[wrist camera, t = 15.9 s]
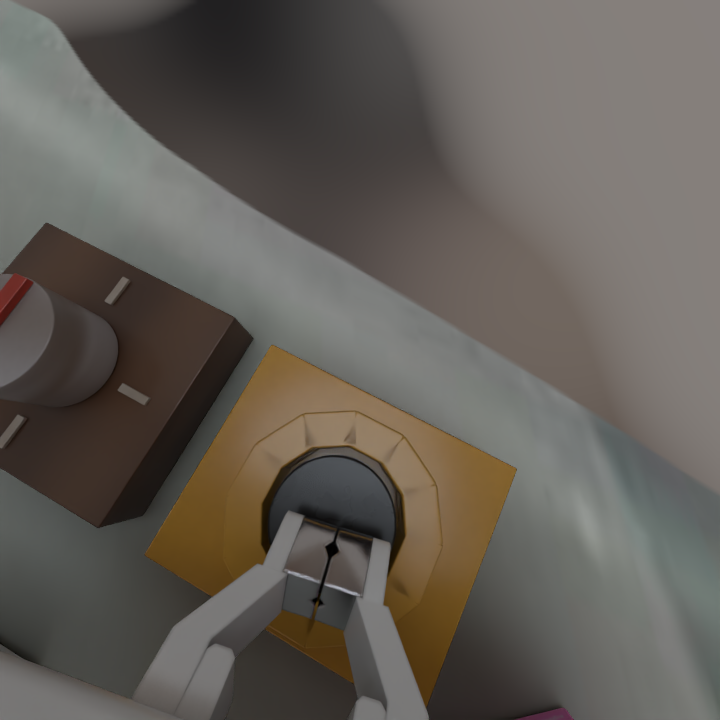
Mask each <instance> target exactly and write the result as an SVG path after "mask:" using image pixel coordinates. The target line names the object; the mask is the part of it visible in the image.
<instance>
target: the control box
mask: <svg viewBox="0 0 720 720" xmlns="http://www.w3.org/2000/svg"><path fill="white" fill-rule="evenodd" d="M327 455H342V456H348V457H352V458H355V459H357V460H359V461H361V462H363V463H365V464H366V465H368V466H369V467H370V468H371V469H373V470H374V471H375V472H376V473H377V475H378V476H379V477H380V478H381V479H382V480H383V482H384V483H385V485H386V486H387V488H388V490H389V492H390V494H391V497H392V499H393V503H394V507H395V512H396V536H395V540H394V545H393V548H392V550H391V553H390V558H389V566H388V573H387V581H386V588H385V596H384V603H383V605H385V606H387V607H389V610H390V612H391V615H392V618H393V620H394V623H395V626H396V629H397V631H398V634H399V637H400V640H401V642H402V645H403V648H404V650H405V653H406V656H407V659H408V661H409V664H410V667H411V669H412V672H413V675H414V678H415V680H416V683H417V686H418V688H419V691H420V694H421V697H422V699H423V702H424V705H425V707H426V708H427V705H428V702H429V700H430V697H431V694H432V692H433V689H434V687H435V684H436V681H437V679H438V676H439V673H440V671H441V668H442V665H443V663H444V660H445V658H446V655H447V652H448V650H449V647H450V644H451V642H452V639H453V637H454V634H455V631H456V629H457V626H458V623H459V621H460V618H461V615H462V613H463V610H464V608H465V605H466V602H467V600H468V597H469V594H470V592H471V589H472V586H473V584H474V581H475V579H476V576H477V573H478V571H479V568H480V565H481V563H482V560H483V558H484V555H485V552H486V550H487V547H488V544H489V542H490V539H491V536H492V534H493V531H494V529H495V526H496V523H497V521H498V518H499V515H500V513H501V510H502V507H503V505H504V502H505V500H506V497H507V494H508V492H509V489H510V486H511V484H512V481H513V479H514V476H515V473H516V471H517V469H516V468H515V467H513V466H511V465H509V464H507V463H505V462H503V461H501V460H499V459H497V458H495V457H493V456H491V455H489V454H487V453H485V452H483V451H481V450H479V449H477V448H475V447H473V446H471V445H469V444H467V443H465V442H463V441H461V440H459V439H457V438H456V437H454V436H452V435H450V434H448V433H446V432H444V431H442V430H440V429H438V428H436V427H434V426H432V425H430V424H428V423H426V422H424V421H422V420H420V419H418V418H416V417H414V416H412V415H410V414H408V413H406V412H404V411H402V410H400V409H398V408H396V407H394V406H392V405H390V404H389V403H387V402H385V401H383V400H381V399H379V398H377V397H375V396H373V395H371V394H369V393H367V392H365V391H363V390H361V389H359V388H357V387H355V386H353V385H351V384H349V383H347V382H345V381H343V380H341V379H339V378H337V377H335V376H333V375H331V374H329V373H327V372H325V371H324V370H322V369H320V368H318V367H316V366H314V365H312V364H310V363H308V362H306V361H304V360H302V359H300V358H298V357H296V356H294V355H292V354H290V353H288V352H286V351H284V350H282V349H280V348H278V347H276V346H274V345H271V347H270V348H269V350H268V351H267V353H266V355H265V356H264V358H263V360H262V361H261V363H260V365H259V366H258V368H257V370H256V371H255V373H254V375H253V376H252V378H251V379H250V381H249V383H248V384H247V386H246V388H245V389H244V391H243V393H242V394H241V396H240V398H239V399H238V401H237V403H236V404H235V406H234V407H233V409H232V411H231V412H230V414H229V416H228V417H227V419H226V421H225V422H224V424H223V426H222V427H221V429H220V431H219V432H218V434H217V436H216V437H215V439H214V440H213V442H212V444H211V445H210V447H209V449H208V450H207V452H206V454H205V455H204V457H203V459H202V460H201V462H200V464H199V465H198V467H197V468H196V470H195V472H194V473H193V475H192V477H191V478H190V480H189V482H188V483H187V485H186V487H185V488H184V490H183V492H182V493H181V495H180V496H179V498H178V500H177V501H176V503H175V505H174V506H173V508H172V510H171V511H170V513H169V515H168V516H167V518H166V520H165V521H164V523H163V524H162V526H161V528H160V529H159V531H158V533H157V534H156V536H155V538H154V539H153V541H152V543H151V544H150V546H149V548H148V549H147V551H146V552H145V556H146V557H148V558H150V559H151V560H153V561H154V562H156V563H158V564H159V565H161V566H163V567H164V568H166V569H167V570H169V571H171V572H172V573H174V574H176V575H177V576H179V577H180V578H182V579H184V580H185V581H187V582H189V583H190V584H192V585H193V586H195V587H197V588H198V589H200V590H202V591H203V592H205V593H206V594H208V595H210V596H211V597H213V596H214V595H216V594H217V593H218V592H220V591H221V590H223V589H224V588H225V587H227V586H228V585H229V584H231V583H232V582H233V581H235V580H236V579H237V578H239V577H240V576H241V575H243V574H244V573H245V572H247V571H248V570H249V569H251V568H252V567H253V566H255V565H256V564H261V565H263V563H264V560H265V558H266V556H267V554H268V552H269V549H270V544H269V538H268V515H269V510H270V506H271V503H272V500H273V497H274V495H275V493H276V491H277V489H278V488H279V486H280V484H281V483H282V482H283V480H284V479H285V478H286V477H287V476H288V475H289V474H290V473H291V472H292V471H293V470H294V469H295V468H297V467H298V466H299V465H301V464H303V463H305V462H306V461H309V460H311V459H314V458H317V457H321V456H327ZM320 596H321V594H319V595H318V598H317V602H316V605H315V609H314V612H313V615H312V619H310V618H307V617H304V616H300V615H297V614H294V613H290V612H287V611H284V610H281V613H280V614H279V615H278V616H277V617H276V618H275V619H274V620H273V621H272V622H271V623H270V624H269V625H268V626H267V627H266V628H265V630H267V631H268V632H270V633H271V634H273V635H275V636H276V637H278V638H280V639H281V640H283V641H284V642H286V643H288V644H289V645H291V646H293V647H294V648H296V649H297V650H299V651H301V652H302V653H304V654H306V655H307V656H309V657H310V658H312V659H314V660H315V661H317V662H319V663H320V664H322V665H323V666H325V667H327V668H328V669H330V670H332V671H333V672H335V673H336V674H338V675H340V676H341V677H343V678H345V679H346V680H348V681H349V682H351V683H353V684H354V680H353V675H352V670H351V666H350V661H349V657H348V652H347V647H346V643H345V638H344V634H343V632H344V631H343V630H340V629H337V628H335V627H332V626H329V625H327V624H324V623H321V622H319V621H316V620H314V619H315V615H316V611H317V607H318V603H319V600H320ZM354 685H355V684H354Z"/></svg>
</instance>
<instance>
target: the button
mask: <svg viewBox="0 0 720 720" xmlns="http://www.w3.org/2000/svg"><path fill="white" fill-rule="evenodd" d="M288 510H289V511H292V512H295V513H298V514H302V515H305V516H307V517H310V518H313V519H316V520H319V521H322V522H325V523H328V524H331V525H334V526H338V527H337V531H336V535H335V538H334V542H333V546H332V549H331V553H330V557H329V560H328V564H327V567H326V571H325V574H324V577H323V581H322V584H321V588H320V592H319V594H321V592H322V589H323V585H324V582H325V578H326V574H327V571H328V567H329V564H330V560H331V557H332V553H333V550H334V546H335V543H336V539H337V536H338V532H339V529H340V527H342V528H346V529H349V530H352V531H356V532H359V533H362V534H366V535H369V536H373V537H374V538H377V539H381V540H384V541H387V542H390V545H391V550H392V548H393V545H394V540H395V536H396V512H395V507H394V503H393V499H392V497H391V494H390V492H389V490H388V488H387V486H386V485H385V483H384V482H383V480H382V479H381V478H380V477H379V476H378V475H377V473H376V472H375V471H374V470H373V469H371V468H370V467H369V466H368V465H366V464H365V463H363V462H361V461H359V460H357V459H355V458H352V457H348V456H342V455H327V456H321V457H317V458H314V459H311V460H309V461H306V462H305V463H303V464H301V465H299V466H298V467H297V468H295V469H294V470H293V471H292V472H291V473H290V474H289V475H288V476H287V477H286V478H285V479H284V480H283V482H282V483H281V484H280V486H279V488H278V489H277V491H276V493H275V495H274V497H273V500H272V503H271V506H270V510H269V515H268V538H269V544H270V547H271V545H272V543H273V541H274V538H275V536H276V534H277V532H278V530H279V527H280V525H281V523H282V521H283V519H284V516H285V515H286V513H287V512H288ZM391 550H390V553H391Z"/></svg>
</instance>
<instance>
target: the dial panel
mask: <svg viewBox="0 0 720 720" xmlns="http://www.w3.org/2000/svg"><path fill="white" fill-rule="evenodd" d="M14 273H17V274H19V275H21V276H24V277H26V278H29V279H31V280H33V281H35V282H37V283H38V284H40V285H42V286H44V287H46V288H48V289H50V290H51V291H53V292H55V293H57V294H59V295H61V296H63V297H64V298H66V299H68V300H70V301H72V302H74V303H76V304H77V305H79V306H81V307H83V308H85V309H87V310H89V311H90V312H92V313H94V314H96V315H98V316H100V317H101V318H103V319H104V320H105V321H106V322H107V323H108V324H109V325H110V326H111V327H112V329H113V331H114V333H115V335H116V338H117V342H118V357H117V361H116V365H115V367H114V370H113V372H112V374H111V375H110V377H109V379H108V380H107V381H106V383H105V384H104V385H103V386H102V387H101V388H100V389H99V390H98V391H97V392H96V393H94V394H93V395H92V396H90V397H89V398H87V399H85V400H83V401H81V402H79V403H76V404H73V405H69V406H64V407H47V406H41V405H35V404H28V403H22V402H16V401H10V400H3V399H0V468H1V469H3V470H4V471H6V472H8V473H9V474H11V475H13V476H14V477H16V478H17V479H19V480H21V481H22V482H24V483H25V484H27V485H29V486H30V487H32V488H34V489H35V490H37V491H38V492H40V493H42V494H43V495H45V496H47V497H48V498H50V499H51V500H53V501H55V502H56V503H58V504H60V505H61V506H63V507H64V508H66V509H68V510H69V511H71V512H73V513H74V514H76V515H77V516H79V517H81V518H82V519H84V520H86V521H87V522H89V523H90V524H92V525H94V526H95V527H97V528H101V527H104V526H108V525H112V524H115V523H119V522H122V521H126V520H129V519H133V518H137V517H140V516H143V514H144V512H145V511H146V509H147V508H148V506H149V504H150V503H151V501H152V500H153V498H154V496H155V495H156V493H157V492H158V490H159V488H160V487H161V485H162V484H163V482H164V480H165V479H166V477H167V476H168V474H169V472H170V471H171V469H172V468H173V466H174V464H175V463H176V461H177V460H178V458H179V456H180V455H181V453H182V452H183V450H184V448H185V447H186V445H187V444H188V442H189V440H190V439H191V437H192V436H193V434H194V432H195V431H196V429H197V428H198V426H199V424H200V423H201V421H202V420H203V418H204V416H205V415H206V413H207V412H208V410H209V408H210V407H211V405H212V404H213V402H214V400H215V399H216V397H217V396H218V394H219V392H220V391H221V389H222V387H223V386H224V384H225V383H226V381H227V379H228V378H229V376H230V375H231V373H232V371H233V370H234V368H235V367H236V365H237V363H238V362H239V360H240V359H241V357H242V355H243V354H244V352H245V351H246V349H247V347H248V346H249V344H250V343H251V341H252V339H253V337H252V336H251V335H250V334H249V333H248V332H247V331H246V330H245V328H244V327H243V326H242V325H241V324H240V323H239V322H238V321H237V319H236V318H235V317H233V316H231V315H229V314H227V313H225V312H223V311H221V310H219V309H217V308H215V307H213V306H211V305H209V304H207V303H205V302H203V301H201V300H199V299H197V298H195V297H193V296H191V295H189V294H187V293H185V292H183V291H181V290H180V289H178V288H176V287H174V286H172V285H170V284H168V283H166V282H164V281H162V280H160V279H158V278H156V277H154V276H152V275H150V274H148V273H146V272H144V271H142V270H140V269H138V268H136V267H134V266H132V265H130V264H128V263H126V262H124V261H122V260H120V259H118V258H116V257H114V256H112V255H110V254H108V253H106V252H104V251H102V250H100V249H98V248H96V247H94V246H92V245H90V244H88V243H86V242H84V241H82V240H80V239H78V238H76V237H74V236H72V235H70V234H68V233H67V232H65V231H63V230H61V229H59V228H57V227H55V226H53V225H51V224H49V223H45V224H44V226H43V227H42V228H41V229H40V230H39V231H38V233H37V234H36V235H35V236H34V237H33V238H32V239H31V241H30V242H29V243H28V244H27V245H26V246H25V248H24V249H23V250H22V251H21V252H20V253H19V255H18V256H17V257H16V258H15V259H14V260H13V261H12V263H11V264H10V265H9V266H8V267H7V268H6V270H5V271H4V272H3V273H2V274H14Z"/></svg>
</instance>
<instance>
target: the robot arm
mask: <svg viewBox="0 0 720 720" xmlns="http://www.w3.org/2000/svg"><path fill="white" fill-rule="evenodd" d="M337 527H338V526H334V525H331V524H328V523H325V522H322V521H319V520H316V519H313V518H310V517H307V516H305V515H302V514H298V513H295V512H292V511H289V510H288V512H287V513H286V515H285V516H284V519H283V521H282V523H281V525H280V527H279V530H278V532H277V534H276V536H275V538H274V541H273V543H272V545H271V547H270V549H269V552H268V554H267V556H266V558H265V560H264V563H263V565H261V564H256V565H255V566H253V567H252V568H251V569H249V570H248V571H247V572H245V573H244V574H243V575H241V576H240V577H239V578H237V579H236V580H235V581H233V582H232V583H231V584H229V585H228V586H227V587H225V588H224V589H223V590H221V591H220V592H218V593H217V594H216V595H214V596H213V597H212V598H210V599H209V600H208V601H206V602H205V603H204V604H202V605H201V606H200V607H198V608H197V609H196V610H194V611H193V612H192V613H190V614H189V615H188V616H186V617H185V618H184V619H182V620H181V621H180V622H178V623H177V624H175V625H174V626H173V628H172V629H171V631H170V633H169V634H168V636H167V638H166V640H165V641H164V643H163V645H162V646H161V648H160V650H159V651H158V653H157V655H156V656H155V658H154V660H153V661H152V663H151V665H150V667H149V668H148V670H147V672H146V673H145V675H144V677H143V678H142V680H141V682H140V683H139V685H138V687H137V689H136V690H135V692H134V694H133V695H132V697H131V699H129V698H126V697H124V696H121V695H118V694H116V693H113V692H110V691H107V690H105V689H102V688H99V687H97V686H94V685H91V684H89V683H86V682H83V681H81V680H78V679H75V678H73V677H70V676H67V675H65V674H62V673H59V672H57V671H54V670H51V669H49V668H46V667H43V666H41V665H38V664H35V663H33V662H30V661H27V660H25V659H22V658H19V657H17V656H14V655H11V654H9V653H6V652H3V651H1V650H0V720H225V718H226V716H227V713H228V710H229V708H230V705H231V702H232V700H233V689H234V669H235V657H236V656H237V655H238V654H239V653H240V652H241V651H242V650H243V649H244V648H245V647H247V646H248V645H249V644H250V643H251V642H252V641H253V640H254V639H255V638H256V637H257V636H258V635H259V634H260V633H261V632H262V631H263V630H264V629H265V628H266V627H267V626H268V625H269V624H270V623H271V622H272V621H273V620H274V619H275V618H276V617H277V616H278V615H279V614H280V613H281V610H284V611H287V612H290V613H294V614H297V615H300V616H304V617H307V618H310V619H312V615H313V612H314V609H315V605H316V602H317V598H318V595H319V592H320V588H321V584H322V581H323V577H324V574H325V571H326V567H327V564H328V560H329V557H330V553H331V549H332V546H333V542H334V538H335V535H336V531H337ZM390 550H391V545H390V542H387V541H384V540H381V539H377V538H374V537H373V536H369V535H366V534H362V533H359V532H356V531H352V530H349V529H346V528H342V527H340V529H339V532H338V536H337V539H336V543H335V546H334V550H333V553H332V557H331V560H330V564H329V567H328V571H327V574H326V578H325V582H324V585H323V589H322V592H321V596H320V600H319V603H318V607H317V611H316V615H315V619H314V620H316V621H319V622H321V623H324V624H327V625H329V626H332V627H335V628H337V629H340V630H343V631H344V632H343V634H344V638H345V643H346V647H347V652H348V657H349V661H350V666H351V670H352V675H353V680H354V684H355V689H356V694H357V698H358V700H357V701H356V703H355V705H354V707H353V709H352V711H351V712H350V714H349V716H348V718H347V720H429V716H428V713H427V710H426V707H425V705H424V702H423V699H422V697H421V694H420V691H419V688H418V686H417V683H416V680H415V678H414V675H413V672H412V669H411V667H410V664H409V661H408V659H407V656H406V653H405V650H404V648H403V645H402V642H401V640H400V637H399V634H398V631H397V629H396V626H395V623H394V620H393V618H392V615H391V612H390V610H389V607H387V606H385V605H383V603H384V596H385V588H386V581H387V573H388V566H389V558H390Z"/></svg>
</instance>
